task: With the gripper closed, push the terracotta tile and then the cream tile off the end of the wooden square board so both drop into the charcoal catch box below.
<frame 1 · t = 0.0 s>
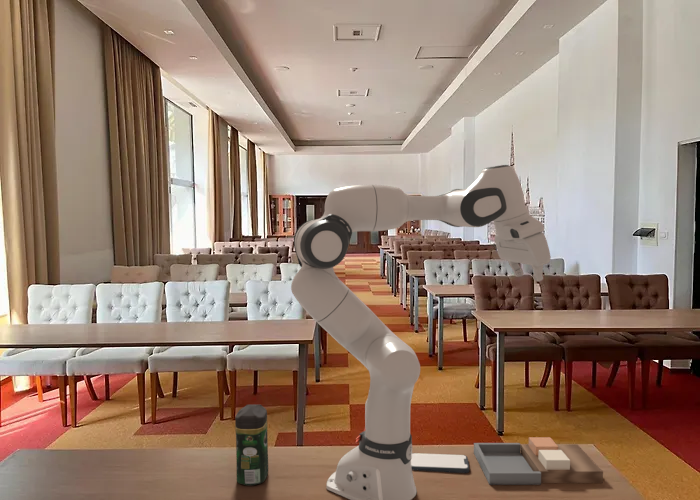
hand: (529, 278, 139), 52 cm above the table, tool tilted 20°, fingers open, 8 cm apart
phone case: (438, 466, 149), on the table
catch box: (507, 468, 147), on the table
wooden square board: (559, 468, 146), on the table
terracotta tile: (543, 450, 150), point 3 cm above the table, touching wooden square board
cream tile: (553, 464, 142), point 3 cm above the table, touching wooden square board
coffee jar: (252, 478, 142), on the table
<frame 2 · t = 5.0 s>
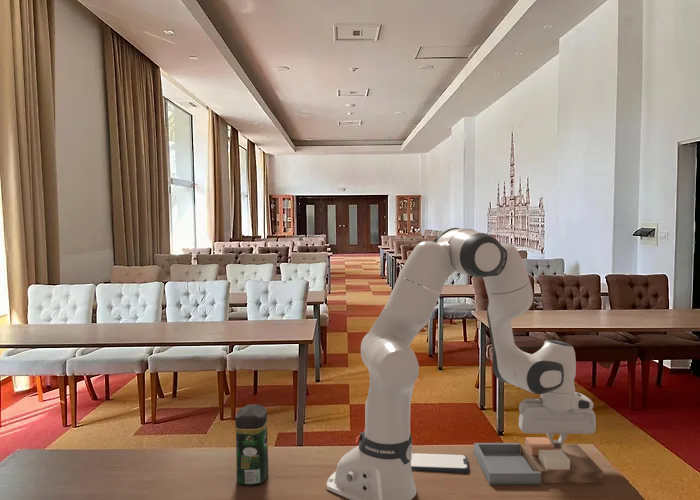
hand: (556, 447, 150), 4 cm above the table, tool pointing down, fingers closed
terracotta tile: (539, 450, 150), point 3 cm above the table, touching gripper, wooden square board
everything else where it was.
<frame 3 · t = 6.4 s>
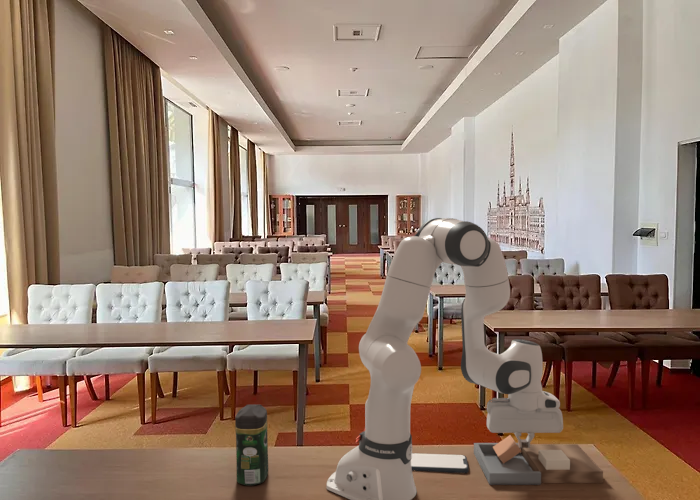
hand: (523, 447, 150), 4 cm above the table, tool pointing down, fingers closed
terracotta tile: (509, 452, 150), point 2 cm above the table, tilted 36°, touching gripper
everything else where it was.
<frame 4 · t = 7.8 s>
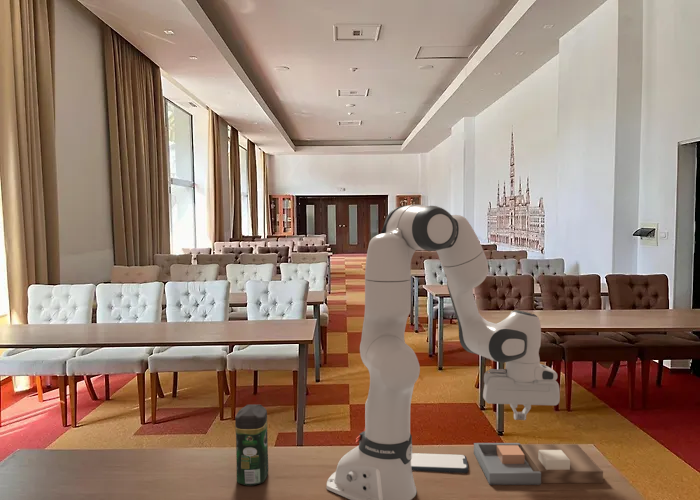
hand: (519, 419, 150), 12 cm above the table, tool pointing down, fingers closed
terracotta tile: (510, 458, 151), point 1 cm above the table, touching catch box
everything else where it was.
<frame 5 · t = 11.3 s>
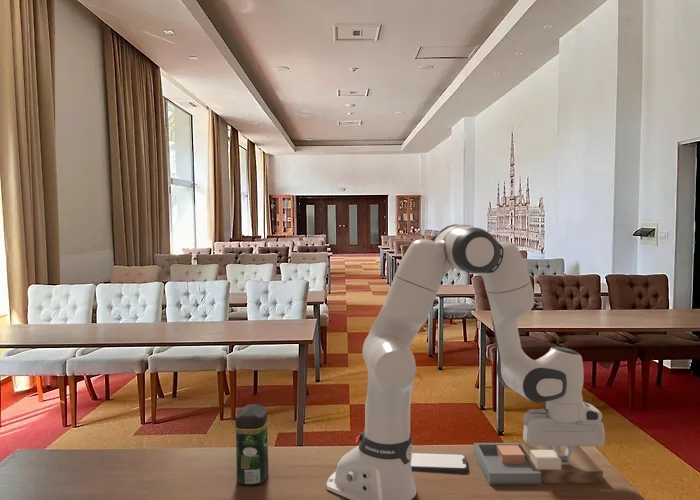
hand: (562, 461, 142), 4 cm above the table, tool pointing down, fingers closed
cream tile: (545, 464, 142), point 3 cm above the table
everything else where it was.
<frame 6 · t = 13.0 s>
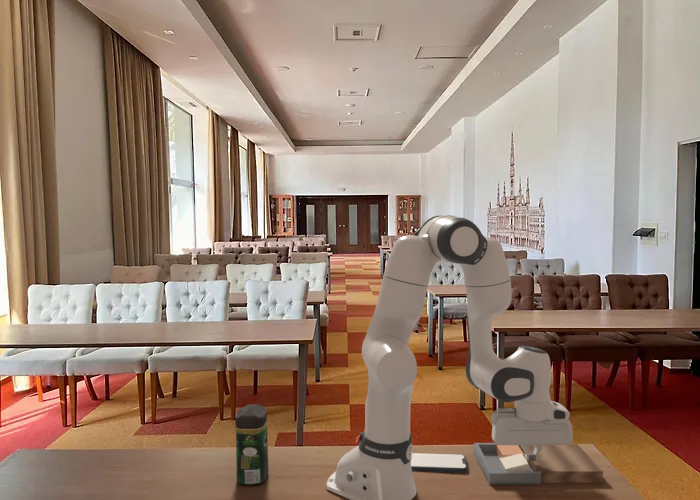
hand: (531, 460, 142), 4 cm above the table, tool pointing down, fingers closed
cream tile: (515, 470, 143), point 1 cm above the table, tilted 14°, touching catch box, gripper
everything else where it was.
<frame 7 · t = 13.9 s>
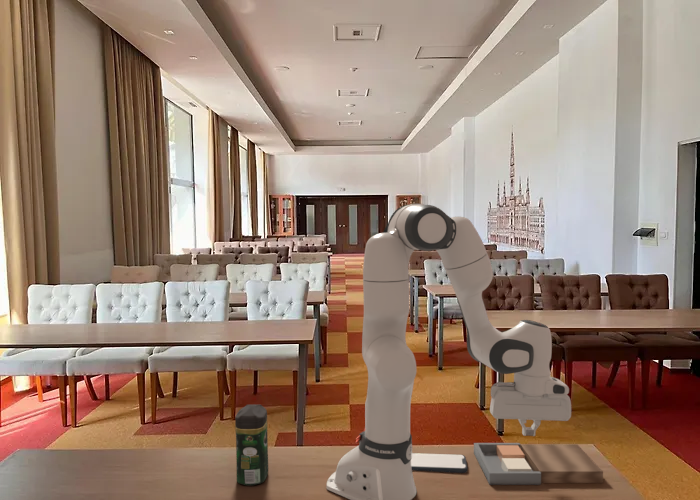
hand: (528, 435, 142), 11 cm above the table, tool pointing down, fingers closed
cream tile: (516, 472, 143), point 1 cm above the table, touching catch box
everything else where it was.
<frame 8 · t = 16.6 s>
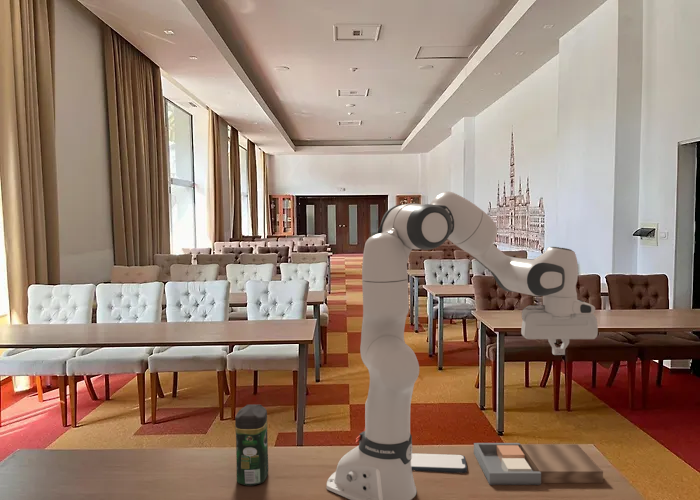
hand: (558, 354, 152), 29 cm above the table, tool pointing down, fingers closed
nothing on the table moved.
at the end: terracotta tile touching catch box; cream tile touching catch box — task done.
